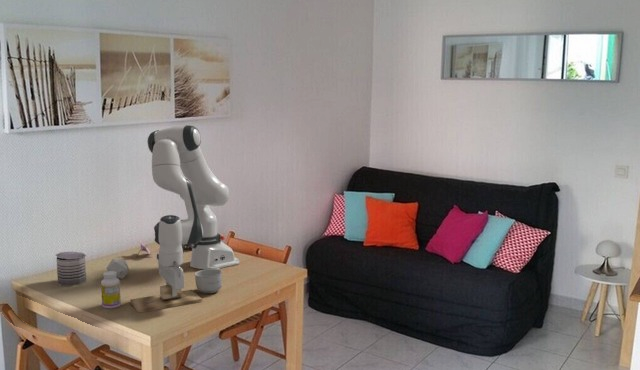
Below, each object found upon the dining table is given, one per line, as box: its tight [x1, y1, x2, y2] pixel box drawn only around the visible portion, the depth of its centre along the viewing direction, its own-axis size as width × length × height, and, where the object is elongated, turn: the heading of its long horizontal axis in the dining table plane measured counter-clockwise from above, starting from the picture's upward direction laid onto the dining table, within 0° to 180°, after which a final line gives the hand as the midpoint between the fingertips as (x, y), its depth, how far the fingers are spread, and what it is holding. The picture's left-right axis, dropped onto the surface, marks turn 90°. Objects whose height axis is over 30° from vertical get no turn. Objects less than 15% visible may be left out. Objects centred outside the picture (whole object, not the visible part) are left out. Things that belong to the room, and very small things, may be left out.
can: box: [55, 250, 87, 287], centre depth 262 cm, size 11×11×12 cm
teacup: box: [194, 268, 223, 294], centre depth 255 cm, size 14×11×8 cm
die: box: [106, 258, 130, 279], centre depth 269 cm, size 8×9×10 cm
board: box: [129, 289, 203, 314], centre depth 241 cm, size 24×12×1 cm, turn 120°
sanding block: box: [159, 284, 182, 301], centre depth 241 cm, size 7×4×4 cm, turn 121°
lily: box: [135, 236, 152, 258], centre depth 301 cm, size 11×11×9 cm
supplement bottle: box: [100, 271, 122, 309], centre depth 235 cm, size 7×7×13 cm
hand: (172, 293), depth 241 cm, fingers closed on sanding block, 4 cm apart
